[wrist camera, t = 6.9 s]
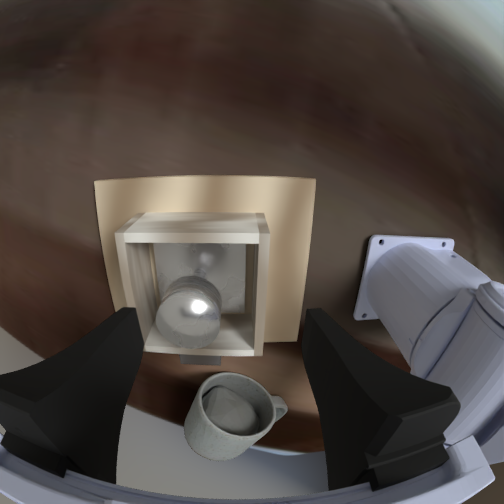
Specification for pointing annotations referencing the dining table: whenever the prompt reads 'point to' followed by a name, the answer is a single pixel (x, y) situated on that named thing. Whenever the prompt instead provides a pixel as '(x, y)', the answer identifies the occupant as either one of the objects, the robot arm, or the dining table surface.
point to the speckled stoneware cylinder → (230, 415)
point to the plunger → (198, 289)
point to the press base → (211, 231)
